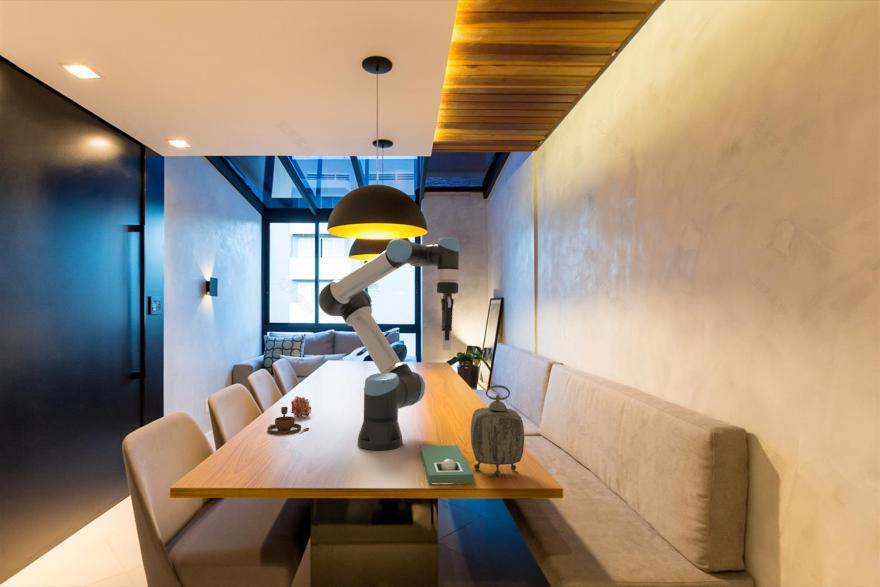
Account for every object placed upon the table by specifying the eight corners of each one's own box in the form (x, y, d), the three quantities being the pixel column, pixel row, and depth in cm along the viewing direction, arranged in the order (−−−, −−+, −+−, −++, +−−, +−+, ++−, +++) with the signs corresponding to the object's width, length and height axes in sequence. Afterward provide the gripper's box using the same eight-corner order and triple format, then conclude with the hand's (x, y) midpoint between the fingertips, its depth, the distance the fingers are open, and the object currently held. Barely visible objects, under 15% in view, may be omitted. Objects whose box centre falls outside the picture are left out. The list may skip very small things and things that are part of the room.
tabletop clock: (518, 468, 135) (520, 383, 136) (525, 480, 126) (526, 388, 127) (469, 467, 135) (471, 382, 136) (472, 479, 126) (474, 387, 126)
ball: (441, 477, 128) (442, 467, 126) (440, 465, 131) (441, 455, 129) (455, 477, 128) (457, 467, 126) (454, 465, 132) (455, 455, 130)
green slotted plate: (428, 484, 121) (428, 475, 121) (420, 453, 147) (420, 445, 147) (473, 483, 122) (473, 474, 122) (457, 453, 148) (457, 445, 148)
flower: (281, 413, 189) (290, 399, 187) (291, 404, 198) (300, 390, 196) (300, 427, 188) (309, 413, 186) (309, 417, 197) (319, 404, 195)
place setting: (253, 434, 166) (253, 417, 166) (281, 421, 185) (281, 406, 186) (298, 437, 163) (298, 421, 163) (321, 423, 183) (322, 409, 183)
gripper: (461, 281, 154) (459, 351, 153) (455, 283, 167) (454, 348, 166) (439, 280, 153) (437, 351, 153) (435, 282, 166) (433, 347, 166)
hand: (446, 349), depth 159 cm, fingers closed
